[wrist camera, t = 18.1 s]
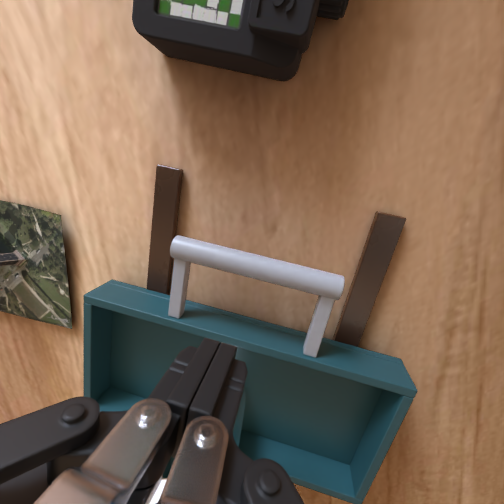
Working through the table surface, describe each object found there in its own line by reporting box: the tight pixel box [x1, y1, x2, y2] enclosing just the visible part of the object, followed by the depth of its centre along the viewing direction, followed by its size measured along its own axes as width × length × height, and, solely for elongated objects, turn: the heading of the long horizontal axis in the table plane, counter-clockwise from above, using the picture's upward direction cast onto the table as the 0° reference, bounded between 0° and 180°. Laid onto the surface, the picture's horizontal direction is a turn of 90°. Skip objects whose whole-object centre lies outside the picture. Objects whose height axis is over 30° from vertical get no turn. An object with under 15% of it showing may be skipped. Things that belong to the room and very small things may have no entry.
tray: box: [84, 235, 417, 504], centre depth 18 cm, size 16×21×3 cm
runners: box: [147, 165, 406, 347], centre depth 19 cm, size 19×16×1 cm
